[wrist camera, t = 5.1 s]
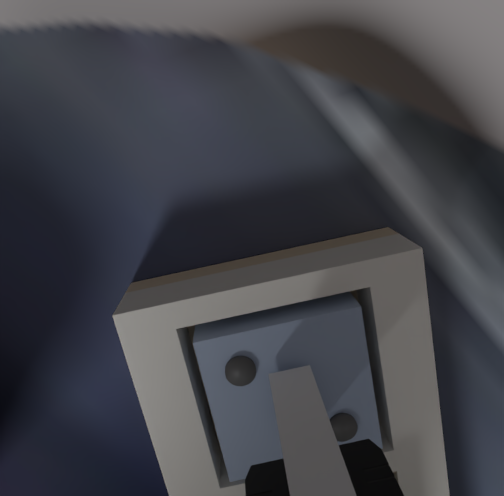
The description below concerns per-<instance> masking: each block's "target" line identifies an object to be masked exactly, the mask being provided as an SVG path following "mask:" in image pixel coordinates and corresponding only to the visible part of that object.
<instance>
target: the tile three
mask: <svg viewBox="0 0 504 496" xmlns="http://www.w3.org/2000/svg"><path fill="white" fill-rule="evenodd" d="M193 346H194V350H195V353H196V357H197V361H198V365H199V368H200V372H201V376H202V380H203V383H204V387H205V391H206V395H207V398H208V402H209V406H210V410H211V413H212V417H213V421H214V424H215V428H216V432H217V436H218V439H219V443H220V447H221V451H222V454H223V458H224V462H225V466H226V469H227V473H228V477H229V480H230V482H232V481H237V480H241V479H246V476H247V474H248V471H249V469H250V467H251V465H255V464H260V463H265V462H269V461H274V460H278V459H283V453H282V448H281V442H280V437H279V431H278V425H277V420H276V414H275V409H274V403H273V397H272V392H271V386H270V381H269V375H268V374H270V373H275V372H280V371H284V370H289V369H293V368H298V367H303V366H307V365H310V367H311V370H312V372H313V375H314V378H315V381H316V384H317V386H318V389H319V392H320V395H321V398H322V400H323V403H324V406H325V409H326V412H327V414H328V417H329V420H330V423H331V426H332V428H333V431H334V434H335V437H336V440H337V442H338V445H342V444H346V443H351V442H355V441H360V440H365V439H370V440H371V441H372V442H373V443H375V444H376V445H377V446H378V447H379V448H381V449H382V448H383V446H382V440H381V433H380V427H379V420H378V413H377V407H376V400H375V394H374V387H373V381H372V374H371V368H370V361H369V355H368V348H367V342H366V335H365V329H364V322H363V316H362V309H361V306H360V304H359V303H358V302H357V300H356V299H355V298H354V296H353V295H352V294H351V292H350V291H349V292H344V293H339V294H335V295H330V296H326V297H321V298H316V299H312V300H307V301H303V302H298V303H294V304H289V305H284V306H280V307H275V308H271V309H266V310H261V311H257V312H252V313H248V314H243V315H238V316H234V317H229V318H225V319H220V320H216V321H211V322H206V323H202V324H197V325H195V330H194V337H193Z"/></svg>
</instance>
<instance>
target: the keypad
mask: <svg viewBox="0 0 504 496" xmlns="http://www.w3.org/2000/svg"><path fill="white" fill-rule="evenodd" d="M349 291H350V292H351V294H352V295H353V296H354V298H355V299H356V300H357V302H358V303H359V304H360V306H361V309H362V316H363V322H364V329H365V335H366V342H367V348H368V355H369V361H370V368H371V374H372V381H373V387H374V394H375V400H376V407H377V413H378V420H379V427H380V433H381V440H382V446H383V448H382V451H383V453H384V455H385V457H386V459H387V461H388V463H389V466H390V467H391V470H392V472H393V474H394V476H395V478H396V480H397V482H398V484H399V486H400V488H401V490H402V492H403V494H404V496H450V494H449V485H448V476H447V467H446V457H445V448H444V439H443V430H442V421H441V412H440V403H439V394H438V385H437V375H436V366H435V357H434V348H433V339H432V330H431V321H430V312H429V302H428V293H427V284H426V275H425V266H424V257H423V248H422V247H420V246H418V245H417V244H415V243H413V242H412V241H410V240H409V239H407V238H405V237H404V236H402V235H400V234H399V233H397V232H396V231H394V230H392V229H391V228H389V227H386V228H381V229H377V230H372V231H368V232H363V233H358V234H354V235H349V236H345V237H340V238H335V239H331V240H326V241H322V242H317V243H312V244H308V245H303V246H299V247H294V248H289V249H285V250H280V251H276V252H271V253H266V254H262V255H257V256H252V257H248V258H243V259H239V260H234V261H229V262H225V263H220V264H216V265H211V266H206V267H202V268H197V269H193V270H188V271H183V272H179V273H174V274H170V275H165V276H160V277H156V278H151V279H147V280H142V281H137V282H133V283H131V284H130V286H129V288H128V289H127V291H126V293H125V294H124V296H123V298H122V300H121V301H120V303H119V305H118V307H117V308H116V310H115V312H114V313H113V315H112V316H113V319H114V323H115V326H116V329H117V332H118V335H119V339H120V342H121V345H122V348H123V351H124V354H125V358H126V361H127V364H128V367H129V370H130V373H131V377H132V380H133V383H134V386H135V389H136V392H137V396H138V399H139V402H140V405H141V408H142V412H143V415H144V418H145V421H146V424H147V427H148V431H149V434H150V437H151V440H152V443H153V446H154V450H155V453H156V456H157V459H158V462H159V466H160V469H161V472H162V475H163V478H164V481H165V485H166V488H167V491H168V494H169V496H246V493H245V479H241V480H237V481H232V482H230V480H229V477H228V473H227V469H226V466H225V462H224V458H223V454H222V451H221V447H220V443H219V439H218V436H217V432H216V428H215V424H214V421H213V417H212V413H211V410H210V406H209V402H208V398H207V395H206V391H205V387H204V383H203V380H202V376H201V372H200V368H199V365H198V361H197V357H196V353H195V350H194V346H193V337H194V330H195V325H197V324H202V323H206V322H211V321H216V320H220V319H225V318H229V317H234V316H238V315H243V314H248V313H252V312H257V311H261V310H266V309H271V308H275V307H280V306H284V305H289V304H294V303H298V302H303V301H307V300H312V299H316V298H321V297H326V296H330V295H335V294H339V293H344V292H349Z"/></svg>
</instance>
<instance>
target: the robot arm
mask: <svg viewBox="0 0 504 496" xmlns="http://www.w3.org/2000/svg"><path fill="white" fill-rule="evenodd" d="M268 375H269V381H270V386H271V392H272V397H273V403H274V409H275V414H276V420H277V425H278V431H279V437H280V442H281V448H282V453H283V459H278V460H274V461H269V462H265V463H260V464H255V465H251V467H250V469H249V471H248V474H247V476H246V479H245V493H246V496H404V494H403V492H402V490H401V488H400V486H399V484H398V482H397V480H396V478H395V476H394V474H393V472H392V470H391V467H390V466H389V463H388V461H387V459H386V457H385V455H384V453H383V451H382V449H381V448H379V447H378V446H377V445H376V444H375V443H373V442H372V441H371V440H370V439H365V440H360V441H355V442H351V443H346V444H342V445H338V442H337V440H336V437H335V434H334V431H333V428H332V426H331V423H330V420H329V417H328V414H327V412H326V409H325V406H324V403H323V400H322V398H321V395H320V392H319V389H318V386H317V384H316V381H315V378H314V375H313V372H312V370H311V367H310V365H307V366H303V367H298V368H293V369H289V370H284V371H280V372H275V373H270V374H268Z"/></svg>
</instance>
